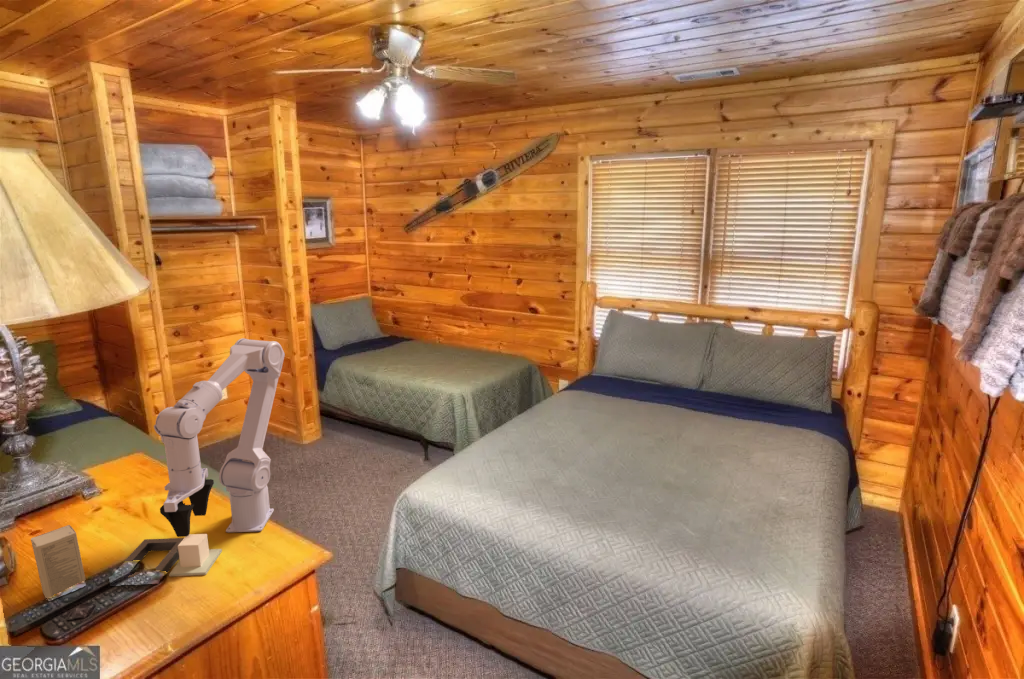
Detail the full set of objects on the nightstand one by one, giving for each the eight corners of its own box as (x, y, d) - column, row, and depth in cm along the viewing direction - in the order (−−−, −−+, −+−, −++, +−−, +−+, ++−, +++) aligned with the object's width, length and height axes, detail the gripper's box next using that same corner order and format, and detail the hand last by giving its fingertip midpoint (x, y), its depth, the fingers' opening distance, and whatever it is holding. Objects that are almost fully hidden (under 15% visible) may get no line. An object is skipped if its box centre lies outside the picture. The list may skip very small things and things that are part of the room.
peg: (189, 555, 118) (187, 534, 117) (209, 554, 119) (206, 533, 118) (180, 567, 114) (177, 545, 113) (200, 566, 115) (198, 545, 114)
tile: (188, 552, 120) (187, 550, 120) (221, 551, 121) (221, 548, 121) (169, 576, 113) (169, 573, 112) (205, 574, 113) (205, 572, 113)
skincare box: (80, 577, 112) (71, 523, 109) (87, 587, 109) (77, 532, 106) (41, 593, 107) (29, 537, 104) (47, 604, 104) (35, 546, 101)
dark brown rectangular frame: (145, 547, 122) (144, 539, 121) (188, 545, 123) (187, 537, 122) (109, 586, 109) (108, 577, 109) (158, 584, 110) (156, 575, 110)
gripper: (180, 449, 118) (188, 507, 121) (143, 482, 104) (152, 546, 107) (215, 448, 119) (221, 505, 122) (182, 481, 105) (191, 545, 108)
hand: (192, 524), depth 115 cm, fingers open, 7 cm apart
